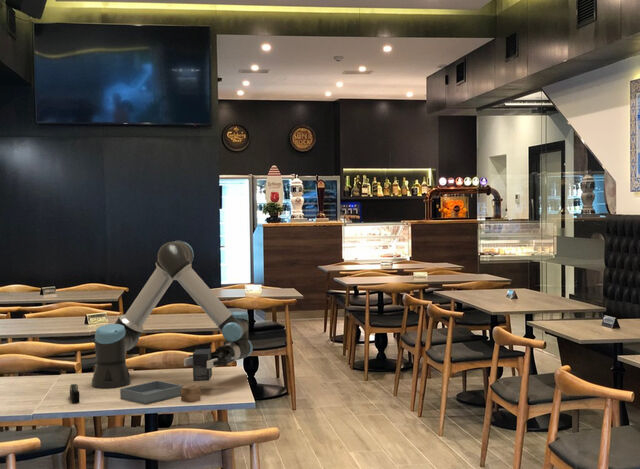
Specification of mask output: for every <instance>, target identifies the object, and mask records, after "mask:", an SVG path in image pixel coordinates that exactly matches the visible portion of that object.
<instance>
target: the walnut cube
mask: <svg viewBox="0 0 640 469" xmlns="http://www.w3.org/2000/svg"><path fill="white" fill-rule="evenodd" d="M201 395H202V394H201V385H195V384H194V385H193V384H188V385H183V387H181V396H180V401H181V402H184V403H194V402H198V401H201V400H200V399H201V398H202V397H201Z"/></svg>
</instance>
